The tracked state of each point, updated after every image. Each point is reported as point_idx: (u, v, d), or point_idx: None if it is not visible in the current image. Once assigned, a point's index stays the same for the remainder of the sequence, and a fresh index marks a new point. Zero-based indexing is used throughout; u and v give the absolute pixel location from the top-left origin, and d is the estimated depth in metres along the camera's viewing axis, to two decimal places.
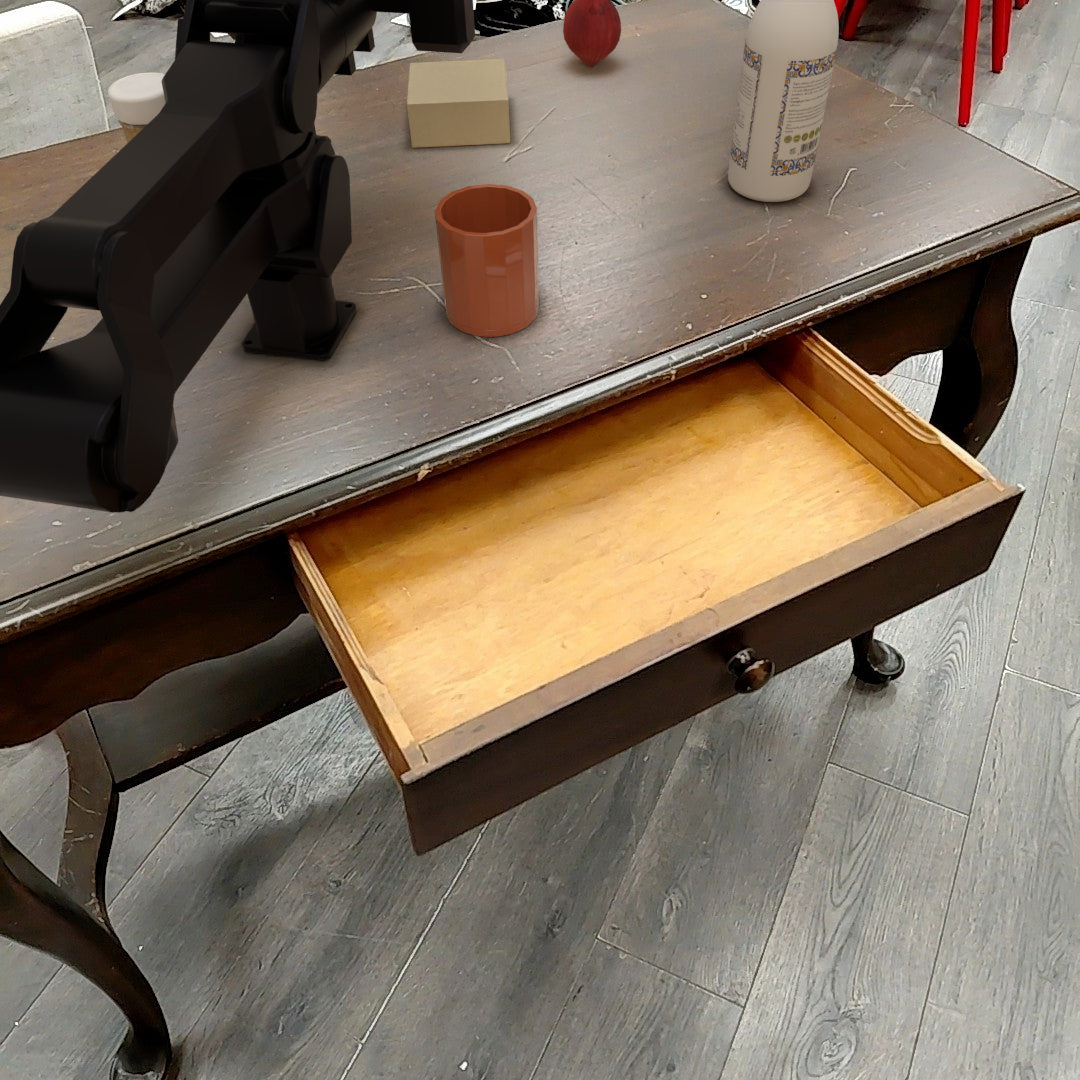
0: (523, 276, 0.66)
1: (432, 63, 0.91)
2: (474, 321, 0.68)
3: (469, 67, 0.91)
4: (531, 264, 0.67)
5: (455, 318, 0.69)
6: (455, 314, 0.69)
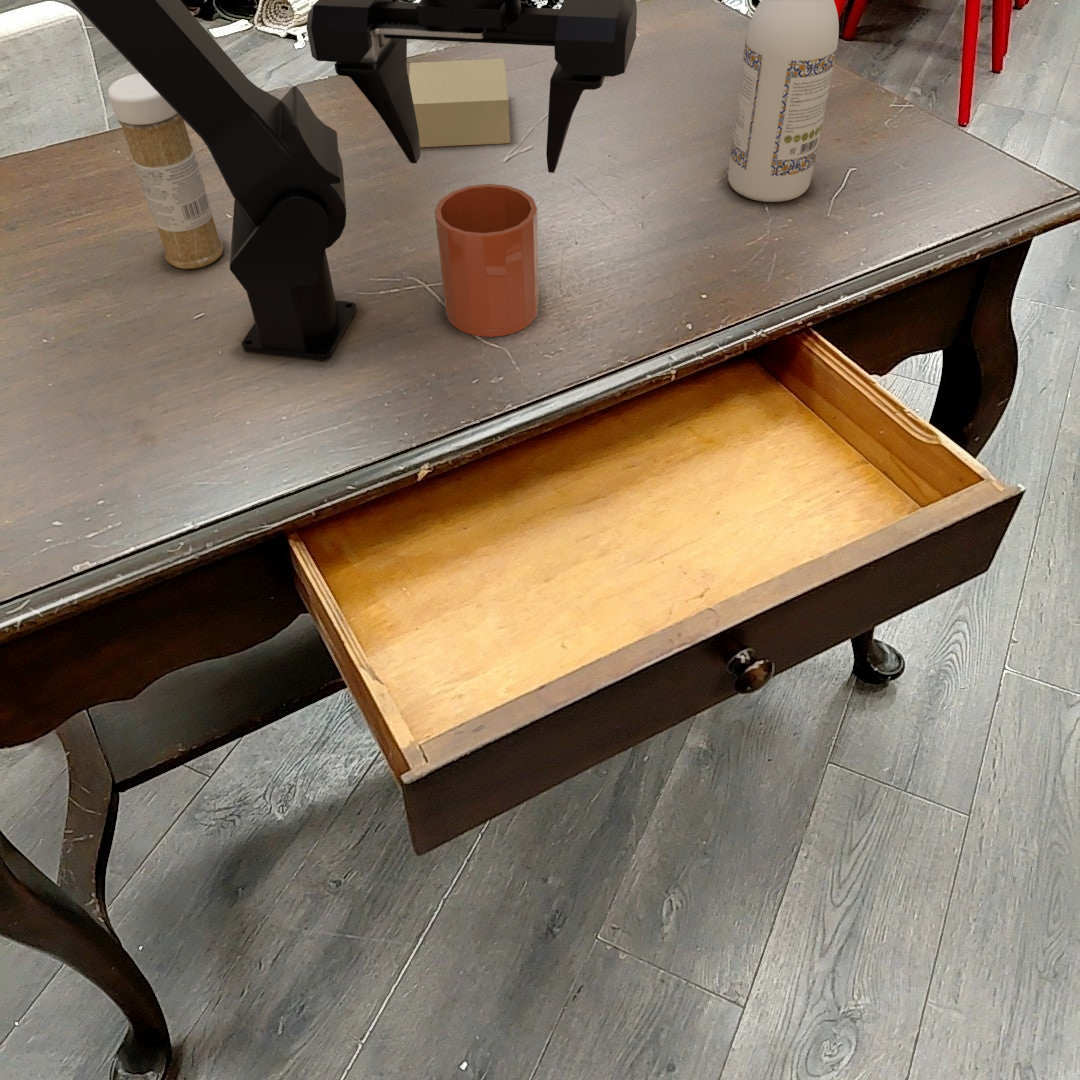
0: (523, 276, 0.66)
1: (432, 63, 0.91)
2: (474, 321, 0.68)
3: (469, 67, 0.91)
4: (531, 264, 0.67)
5: (455, 318, 0.69)
6: (455, 314, 0.69)
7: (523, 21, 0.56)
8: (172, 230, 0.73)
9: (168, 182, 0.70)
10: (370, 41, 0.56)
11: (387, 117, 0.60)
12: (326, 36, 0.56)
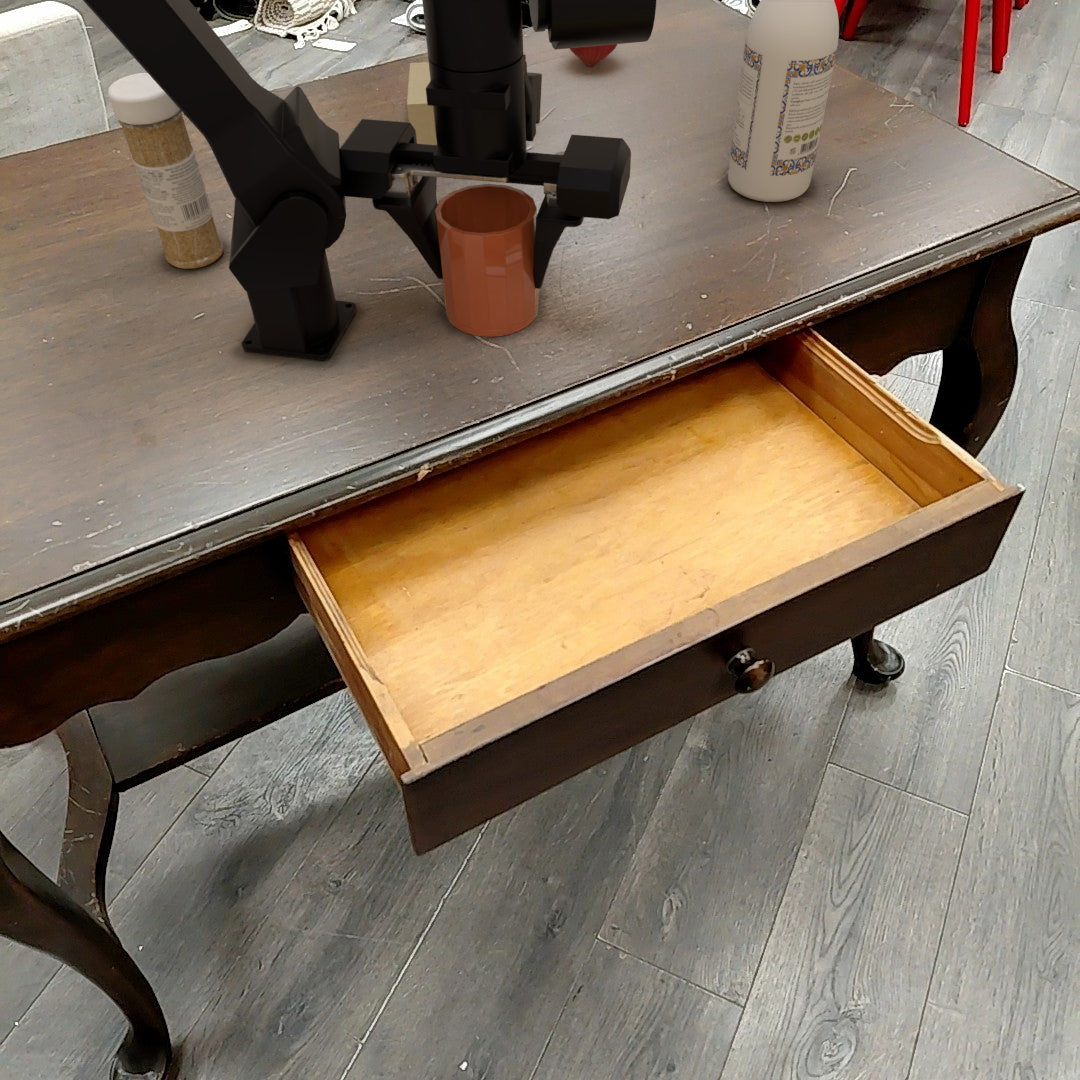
0: (523, 276, 0.66)
1: None
2: (474, 321, 0.68)
3: None
4: (531, 264, 0.67)
5: (455, 318, 0.69)
6: (455, 314, 0.69)
7: (528, 166, 0.62)
8: (172, 230, 0.73)
9: (168, 182, 0.70)
10: (391, 181, 0.62)
11: (418, 243, 0.66)
12: (351, 176, 0.62)
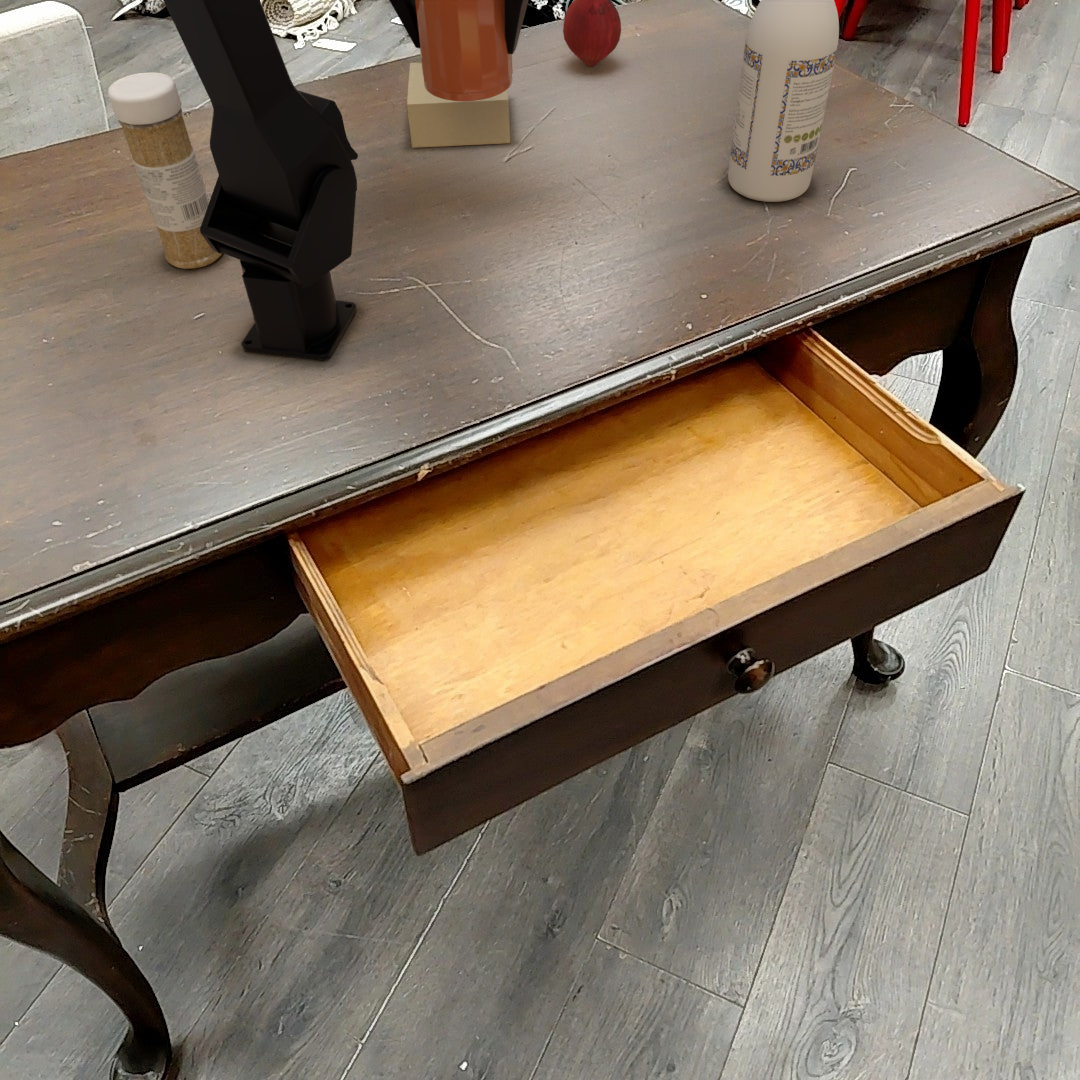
0: (495, 35, 0.70)
1: None
2: (449, 84, 0.71)
3: None
4: (503, 24, 0.70)
5: (432, 84, 0.72)
6: (431, 79, 0.72)
7: None
8: (172, 230, 0.73)
9: (168, 182, 0.70)
10: None
11: (395, 2, 0.70)
12: None
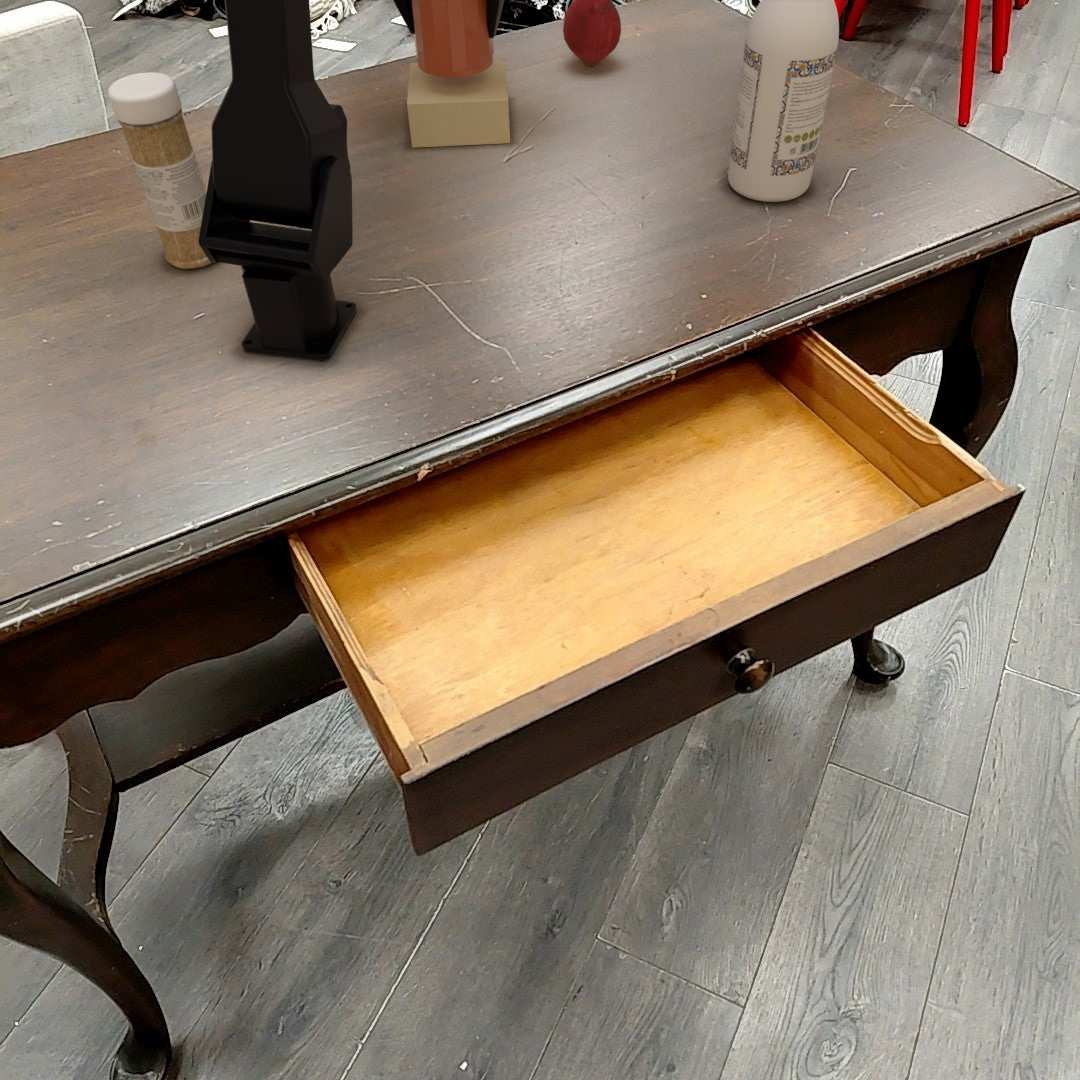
0: (478, 21, 0.83)
1: None
2: (439, 62, 0.84)
3: None
4: (485, 12, 0.83)
5: (424, 63, 0.85)
6: (424, 59, 0.85)
7: None
8: (172, 230, 0.73)
9: (168, 182, 0.70)
10: None
11: None
12: None
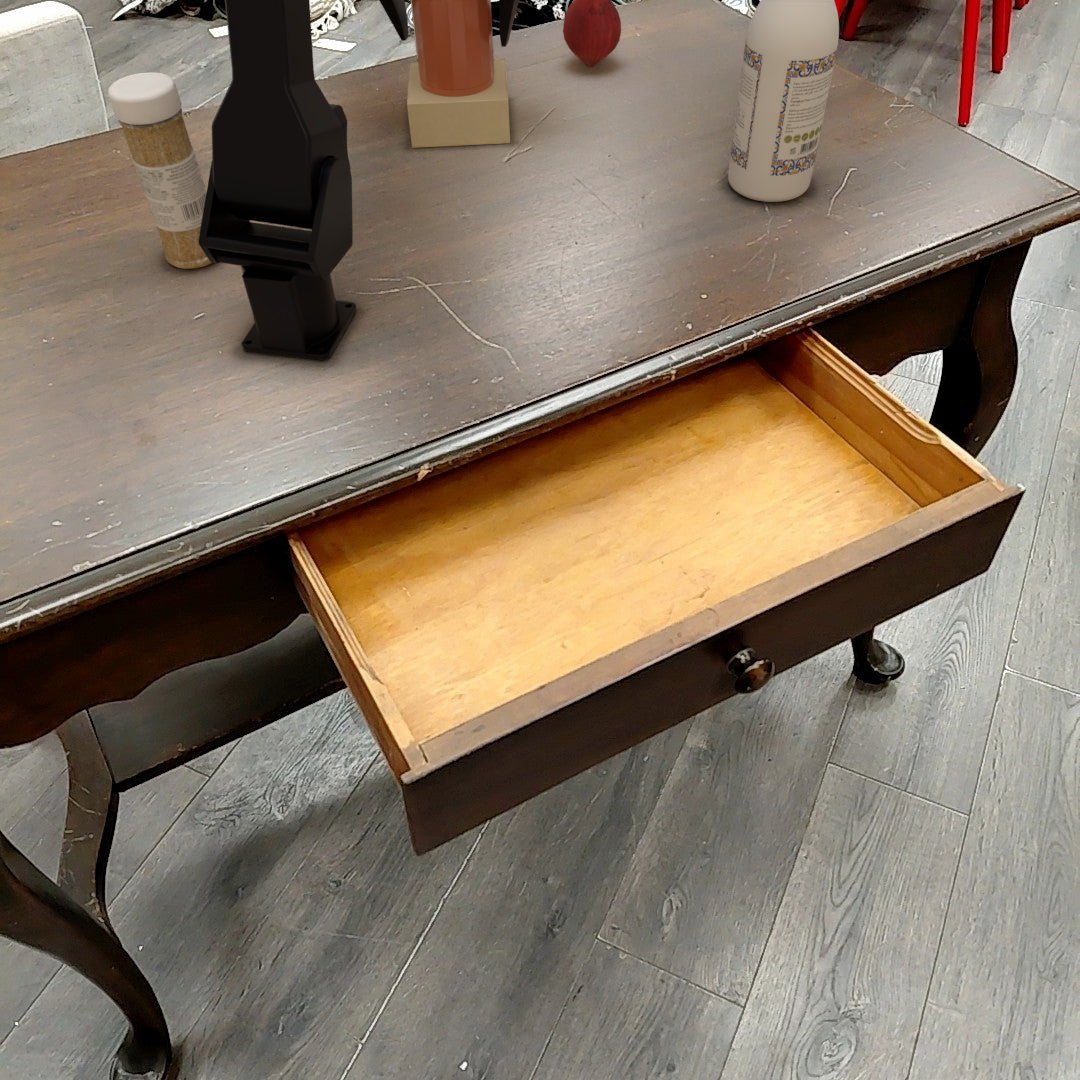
0: (479, 41, 0.84)
1: None
2: (441, 82, 0.86)
3: None
4: (486, 32, 0.84)
5: (426, 82, 0.86)
6: (426, 78, 0.86)
7: None
8: (172, 230, 0.73)
9: (168, 182, 0.70)
10: None
11: (384, 2, 0.83)
12: None
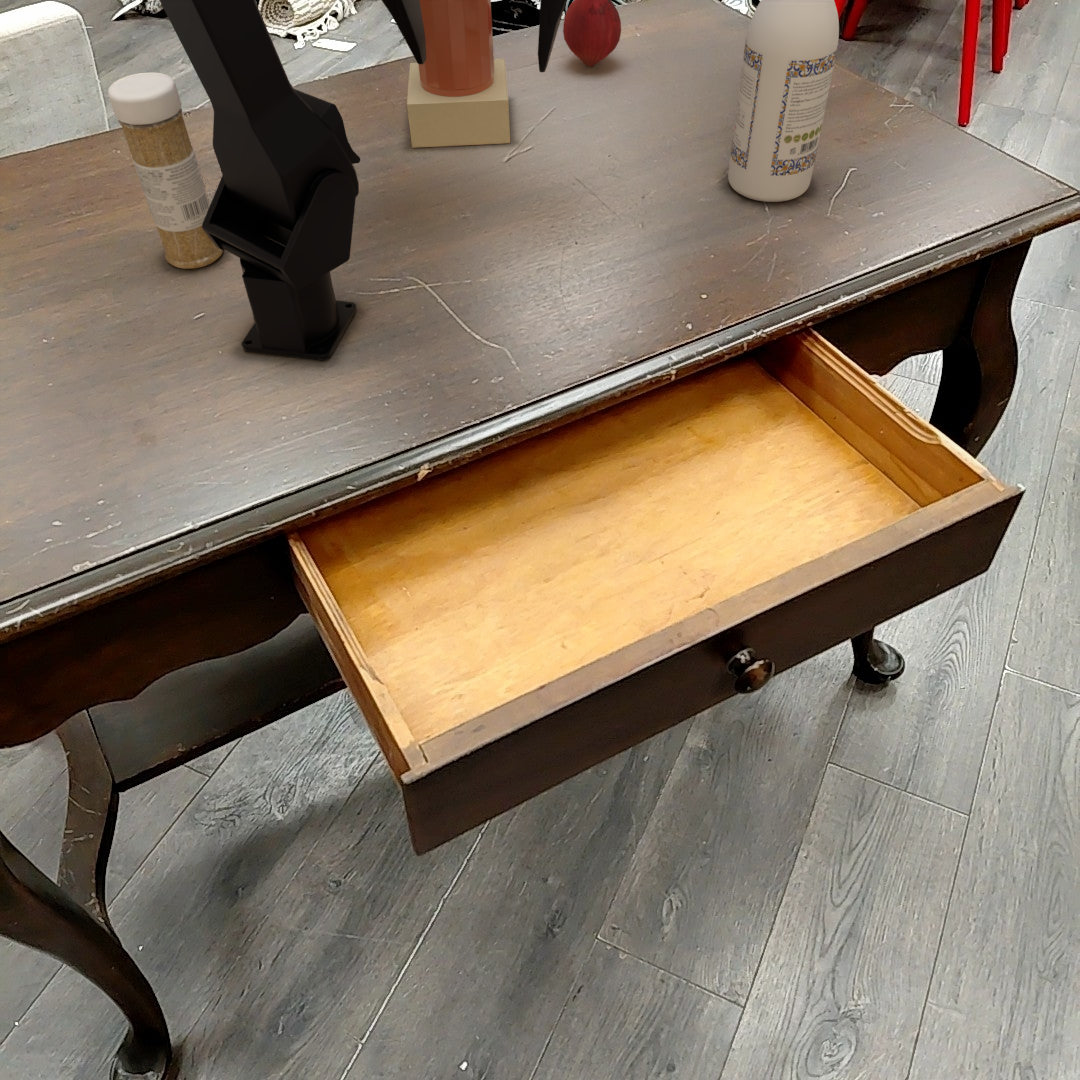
0: (479, 41, 0.84)
1: None
2: (441, 82, 0.86)
3: None
4: (486, 32, 0.84)
5: (426, 82, 0.86)
6: (426, 78, 0.86)
7: None
8: (172, 230, 0.73)
9: (168, 182, 0.70)
10: None
11: (398, 18, 0.68)
12: None
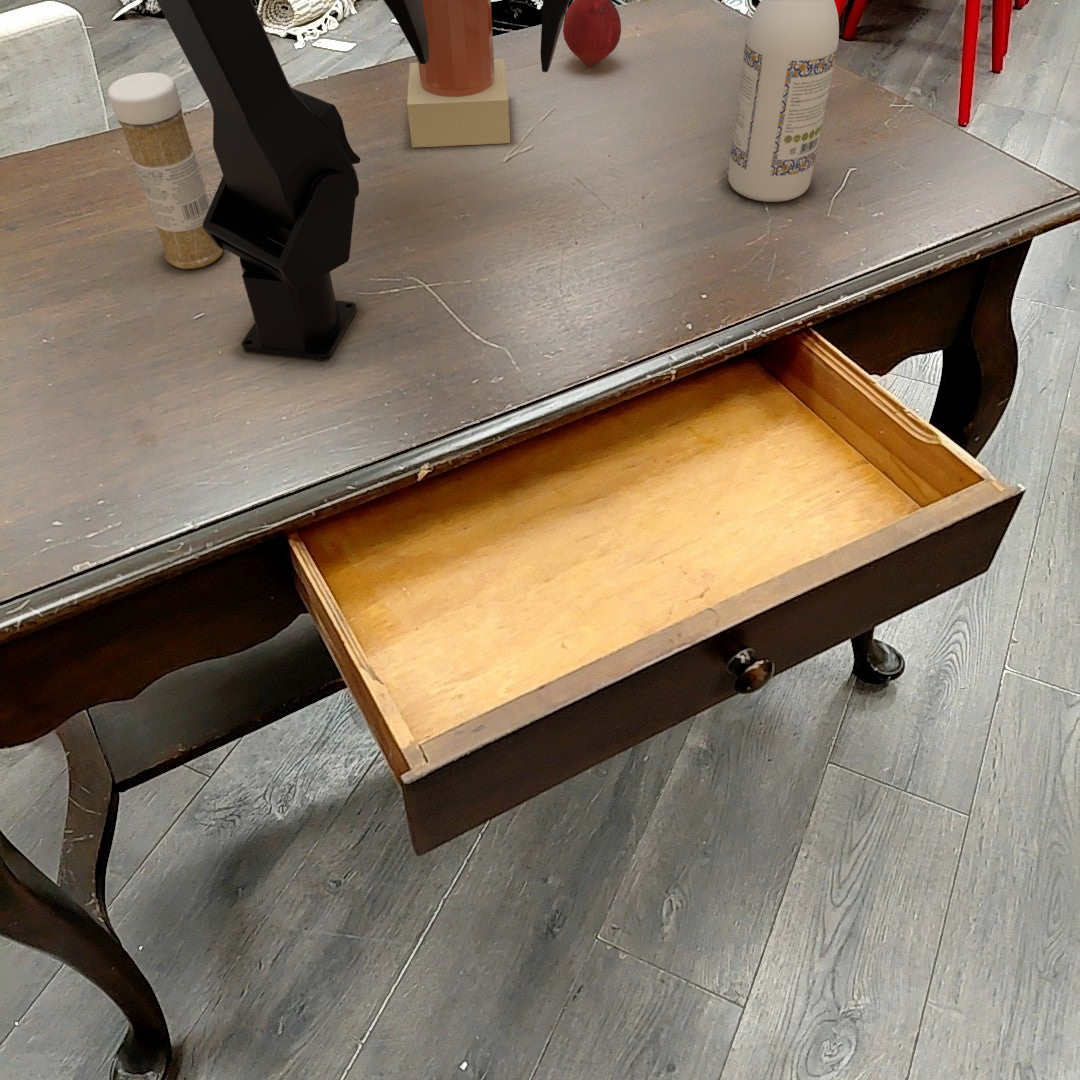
0: (479, 41, 0.84)
1: None
2: (441, 82, 0.86)
3: None
4: (486, 32, 0.84)
5: (426, 82, 0.86)
6: (426, 78, 0.86)
7: None
8: (172, 230, 0.73)
9: (168, 182, 0.70)
10: None
11: (400, 18, 0.68)
12: None
